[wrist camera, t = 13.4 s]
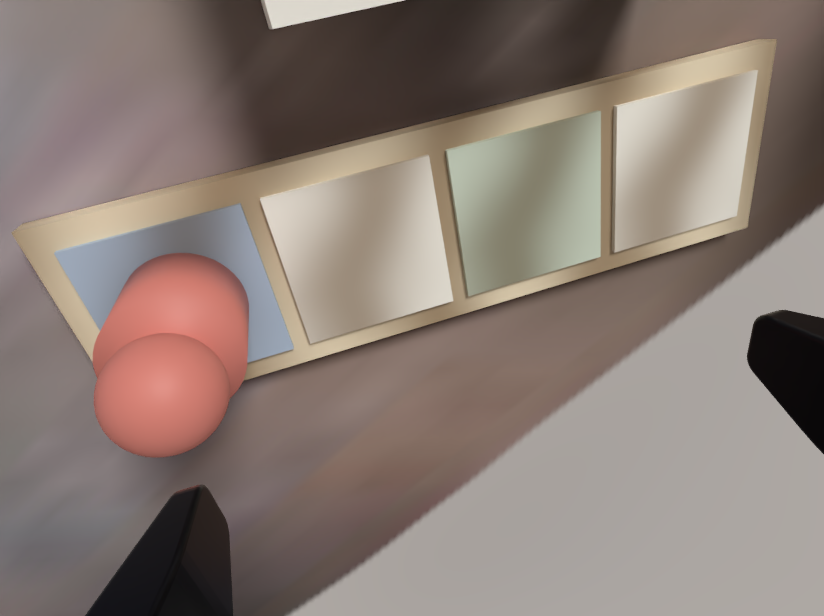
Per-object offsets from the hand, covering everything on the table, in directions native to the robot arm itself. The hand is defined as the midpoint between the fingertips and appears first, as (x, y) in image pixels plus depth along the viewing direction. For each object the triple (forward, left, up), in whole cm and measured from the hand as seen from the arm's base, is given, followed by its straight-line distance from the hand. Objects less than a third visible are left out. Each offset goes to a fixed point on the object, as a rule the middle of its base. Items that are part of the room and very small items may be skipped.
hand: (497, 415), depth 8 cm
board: (-2, +1, -11) cm, 12 cm away
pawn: (+7, +1, -10) cm, 12 cm away
